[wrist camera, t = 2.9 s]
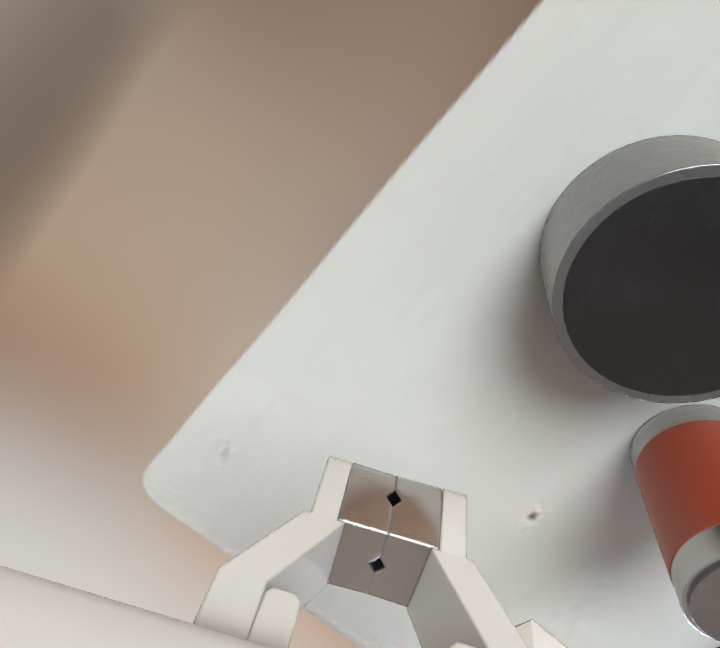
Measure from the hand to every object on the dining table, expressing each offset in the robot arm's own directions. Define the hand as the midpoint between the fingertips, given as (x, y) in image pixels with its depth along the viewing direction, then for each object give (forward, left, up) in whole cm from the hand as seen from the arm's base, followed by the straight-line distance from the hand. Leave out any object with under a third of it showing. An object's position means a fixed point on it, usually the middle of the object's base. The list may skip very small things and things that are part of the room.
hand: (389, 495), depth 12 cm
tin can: (-20, +12, -23) cm, 33 cm away
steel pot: (-16, 0, -23) cm, 28 cm away
